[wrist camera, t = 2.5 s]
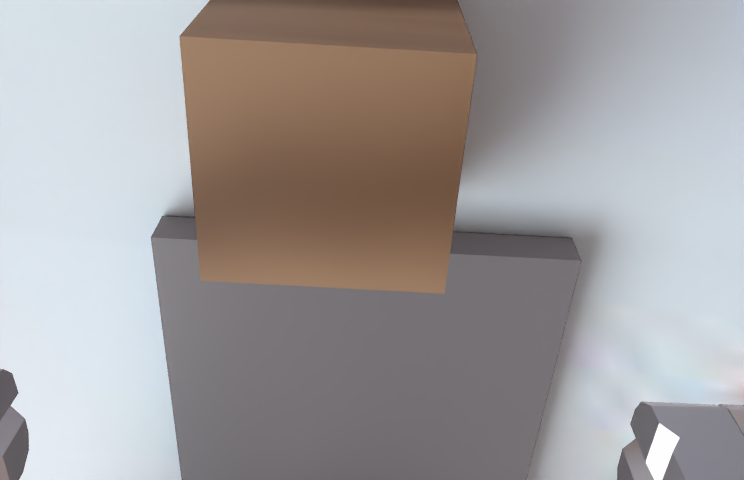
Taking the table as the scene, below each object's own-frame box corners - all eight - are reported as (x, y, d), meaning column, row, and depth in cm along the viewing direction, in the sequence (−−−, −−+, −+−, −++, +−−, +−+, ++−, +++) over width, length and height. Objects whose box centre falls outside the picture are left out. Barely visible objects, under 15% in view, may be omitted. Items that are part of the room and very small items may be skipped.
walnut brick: (228, -23, 17) (179, 36, 13) (454, -9, 17) (477, 53, 13) (238, 179, 20) (200, 280, 16) (431, 190, 20) (444, 293, 16)
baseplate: (162, 215, 21) (150, 237, 20) (571, 237, 21) (581, 260, 20) (193, 489, 27) (186, 516, 26) (508, 504, 27) (513, 532, 26)
